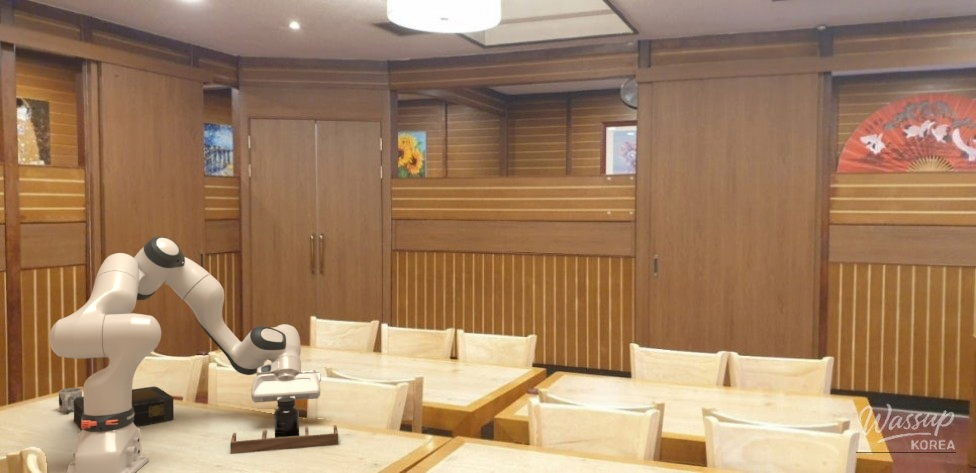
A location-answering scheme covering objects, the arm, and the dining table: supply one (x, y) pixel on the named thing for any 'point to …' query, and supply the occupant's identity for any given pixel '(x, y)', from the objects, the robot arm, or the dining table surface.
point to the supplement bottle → (286, 418)
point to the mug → (68, 399)
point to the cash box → (140, 406)
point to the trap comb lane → (283, 442)
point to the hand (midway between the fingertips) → (286, 411)
